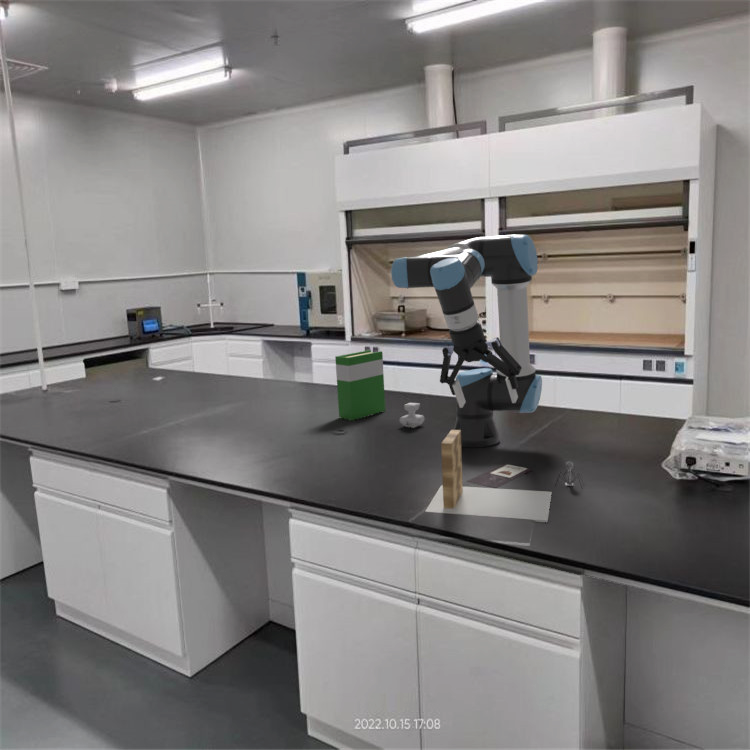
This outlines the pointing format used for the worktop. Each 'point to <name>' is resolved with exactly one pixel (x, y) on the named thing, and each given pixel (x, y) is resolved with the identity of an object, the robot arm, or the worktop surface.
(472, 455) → the worktop surface
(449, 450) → the plaque
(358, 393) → the hardback book
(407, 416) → the stamp
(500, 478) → the chocolate bar
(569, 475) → the bacteriophage
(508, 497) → the mat
